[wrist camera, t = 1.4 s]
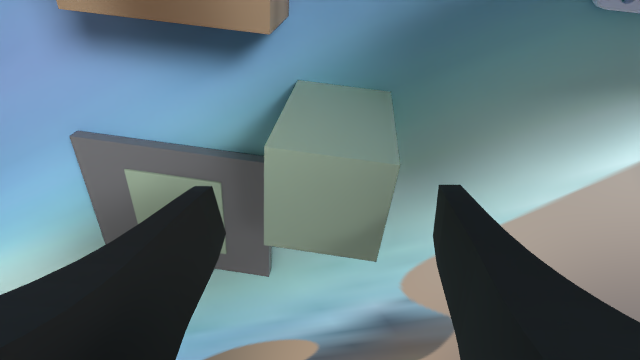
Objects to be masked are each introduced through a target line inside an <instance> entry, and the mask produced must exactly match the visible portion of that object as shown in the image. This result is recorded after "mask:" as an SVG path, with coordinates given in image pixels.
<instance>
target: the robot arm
mask: <svg viewBox="0 0 640 360" xmlns="http://www.w3.org/2000/svg"><path fill="white" fill-rule="evenodd" d="M593 3H594V4H595V5H596V6H597V7H600V8H602V9H606V10H614V11H623V12H632V13H640V0H625V1H624V2H622V1H621V0H593ZM225 235H226V231H225V228H224V224H223V221H222V217H221V214H220V211H219V207H218V204H217V200H216V197H215V194H214V190H213V187H212V186H194V187H192V188H191V189H189V190H187V191H186V192H184V193H183V194H181V195H180V196H178V197H177V198H175V199H174V200H173V201H171V202H170V203H168V204H167V205H165V206H164V207H163V208H161V209H160V210H158V211H157V212H155V213H154V214H153V215H151V216H150V217H148V218H147V219H145V220H144V221H142V222H141V223H139V224H138V225H136V226H135V227H133V228H132V229H130V230H128V231H127V232H125V233H124V234H122V235H121V236H119V237H118V238H116V239H115V240H113V241H111V242H110V243H108V244H106V245H105V246H103V247H101V248H99V249H98V250H96V251H94V252H92V253H90V254H88V255H87V256H85V257H83V258H81V259H79V260H77V261H75V262H73V263H72V264H69V265H67V266H65V267H63V268H61V269H59V270H57V271H55V272H53V273H50V274H48V275H46V276H44V277H42V278H40V279H38V280H36V281H33V282H31V283H29V284H26V285H24V286H21V287H19V288H17V289H14V290H12V291H9V292H7V293H4V294H2V295H0V360H176V357H177V354H178V351H179V348H180V345H181V342H182V340H183V337H184V334H185V331H186V329H187V326H188V324H189V322H190V319H191V317H192V315H193V313H194V311H195V309H196V306H197V304H198V302H199V300H200V298H201V296H202V294H203V292H204V289H205V287H206V285H207V283H208V281H209V279H210V277H211V274H212V272H213V270H214V268H215V266H216V263H217V261H218V259H219V256H220V252H221V249H222V246H223V242H224V239H225ZM433 240H434V247H435V255H436V262H437V267H438V270H439V274H440V278H441V282H442V286H443V290H444V293H445V297H446V300H447V304H448V308H449V311H450V315H451V319H452V323H453V326H454V330H455V334H456V339H457V343H458V348H459V354H460V359H461V360H640V322H638V321H636V320H634V319H632V318H630V317H629V316H627V315H625V314H623V313H621V312H620V311H618V310H616V309H615V308H613V307H611V306H609V305H608V304H606V303H604V302H602V301H601V300H599V299H598V298H596V297H594V296H593V295H591V294H590V293H588V292H587V291H585V290H583V289H582V288H580V287H578V286H577V285H575V284H574V283H572V282H571V281H569V280H568V279H566V278H565V277H563V276H562V275H561V274H559V273H558V272H556V271H555V270H553V269H552V268H551V267H550V266H548V265H547V264H545V263H544V262H543V261H541V260H540V259H539V258H537V257H536V256H535V255H534V254H532V253H531V252H530V251H528V250H527V249H526V248H525V247H524V246H523V245H521V244H520V243H519V242H518V241H517V240H515V239H514V238H513V237H512V236H511V235H510V234H509V233H508V232H506V231H505V230H504V229H503V228H502V227H501V226H500V225H499V224H498V223H497V222H496V221H495V220H494V219H493V218H492V217H491V216H490V215H489V214H488V213H487V212H486V211H485V210H484V209H483V208H482V207H481V206H480V205H479V204H478V203H477V202H476V201H475V200H474V199H473V198H472V197H471V196H470V194H469V193H468V192H467V191H466V190H465V189H464V188H463V187H462V186H461V185H439V189H438V197H437V206H436V215H435V223H434V232H433Z"/></svg>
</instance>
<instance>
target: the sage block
mask: <svg viewBox="0 0 640 360" xmlns="http://www.w3.org/2000/svg"><path fill="white" fill-rule="evenodd" d="M399 168H400V159H399V151H398V143H397V135H396V127H395V119H394V111H393V103H392V95H391V92H389V91H381V90H373V89H365V88H357V87H349V86H341V85H333V84H325V83H317V82H310V81H302V80H298V81H297V83H296V85H295V87H294V89H293V91H292V93H291V95H290V97H289V99H288V100H287V102H286V104H285V106H284V108H283V110H282V112H281V114H280V116H279V118H278V120H277V122H276V124H275V126H274V128H273V130H272V132H271V134H270V136H269V138H268V140H267V142H266V144H265V146H264V245H267V246H274V247H280V248H287V249H294V250H301V251H307V252H314V253H321V254H328V255H334V256H341V257H348V258H354V259H361V260H368V261H375V262H376V260H377V256H378V252H379V248H380V244H381V240H382V236H383V232H384V228H385V224H386V220H387V216H388V212H389V208H390V204H391V200H392V196H393V192H394V188H395V184H396V180H397V176H398V172H399Z"/></svg>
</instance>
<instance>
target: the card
mask: <svg viewBox="0 0 640 360" xmlns="http://www.w3.org/2000/svg"><path fill="white" fill-rule="evenodd" d="M70 139H71V142H72V145H73V148H74V151H75V154H76V157H77V160H78V163H79V166H80V169H81V172H82V175H83V178H84V181H85V184H86V187H87V190H88V193H89V196H90V199H91V202H92V205H93V208H94V211H95V214H96V217H97V220H98V223H99V226H100V229H101V232H102V235H103V238H104V241H105V244H108V243H110V242H111V241H113V240H115V239H116V238H118V237H119V236H121V235H122V234H124V233H125V232H127V231H128V230H130V229H132V228H133V227H135V226H136V225H138V224H139V223H141V222H142V221H144V220H145V219H147V218H148V217H150V216H151V215H153V214H154V213H155V212H157V211H158V210H160V209H161V208H163V207H164V206H165V205H167V204H168V203H170V202H171V201H173V200H174V199H175V198H177V197H178V196H180V195H181V194H183V193H184V192H186V191H187V190H189V189H191V188H192V187H194V186H212V187H213V190H214V194H215V197H216V200H217V204H218V207H219V211H220V214H221V217H222V221H223V224H224V228H225V231H226V235H225V239H224V242H223V246H222V249H221V252H220V256H219V259H218V261H217V263H216V266H215V269H221V270H228V271H235V272H241V273H248V274H254V275H261V276H267V277H269V275H270V271H271V248H272V246H267V245H264V156H259V155H252V154H244V153H237V152H230V151H222V150H215V149H208V148H201V147H193V146H186V145H179V144H171V143H164V142H157V141H149V140H142V139H135V138H127V137H120V136H113V135H105V134H98V133H91V132H83V131H76V132H75V133H73V134H72V135H70Z"/></svg>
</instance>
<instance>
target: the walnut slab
mask: <svg viewBox="0 0 640 360" xmlns="http://www.w3.org/2000/svg"><path fill="white" fill-rule="evenodd" d="M56 1H57V4H58V7H59V9H65V10H73V11H81V12H89V13H98V14H106V15H114V16H122V17H130V18H139V19H147V20H155V21H163V22H171V23H180V24H188V25H196V26H204V27H212V28H221V29H229V30H237V31H245V32H253V33H262V34H271V33H272V32H273V31H274V30H275V29H276V28H277V27H278V26H279V25H280V24H281V23H282V22H283V21H284V20H285V19H286V18H287V17H288V15H289V0H56Z"/></svg>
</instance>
